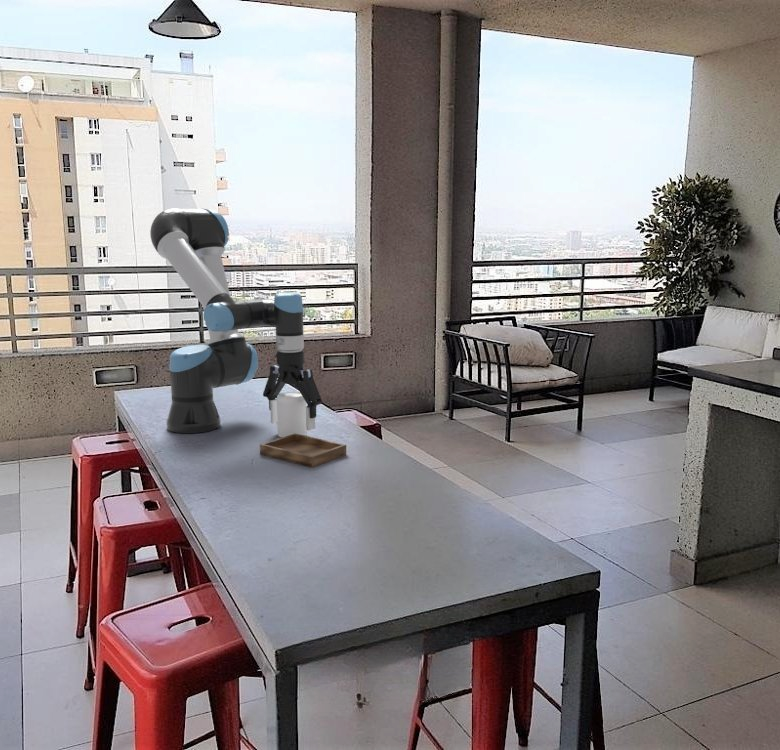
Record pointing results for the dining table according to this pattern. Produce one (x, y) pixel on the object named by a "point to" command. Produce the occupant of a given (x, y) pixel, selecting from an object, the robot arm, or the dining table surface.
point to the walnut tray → (303, 450)
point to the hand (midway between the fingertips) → (292, 425)
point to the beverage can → (291, 414)
